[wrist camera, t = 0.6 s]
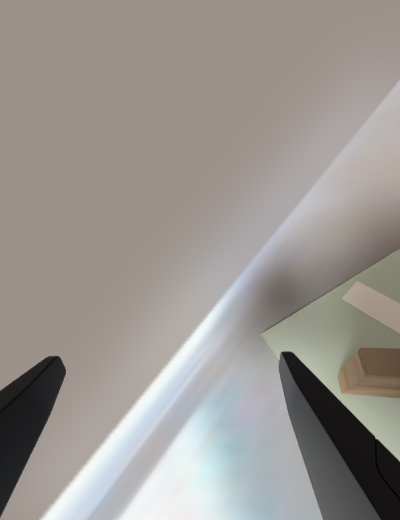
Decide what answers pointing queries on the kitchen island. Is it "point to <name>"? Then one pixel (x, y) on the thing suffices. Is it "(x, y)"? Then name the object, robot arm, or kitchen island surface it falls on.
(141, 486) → the kitchen island surface
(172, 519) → the kitchen island surface
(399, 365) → the tan wooden plank
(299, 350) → the card
